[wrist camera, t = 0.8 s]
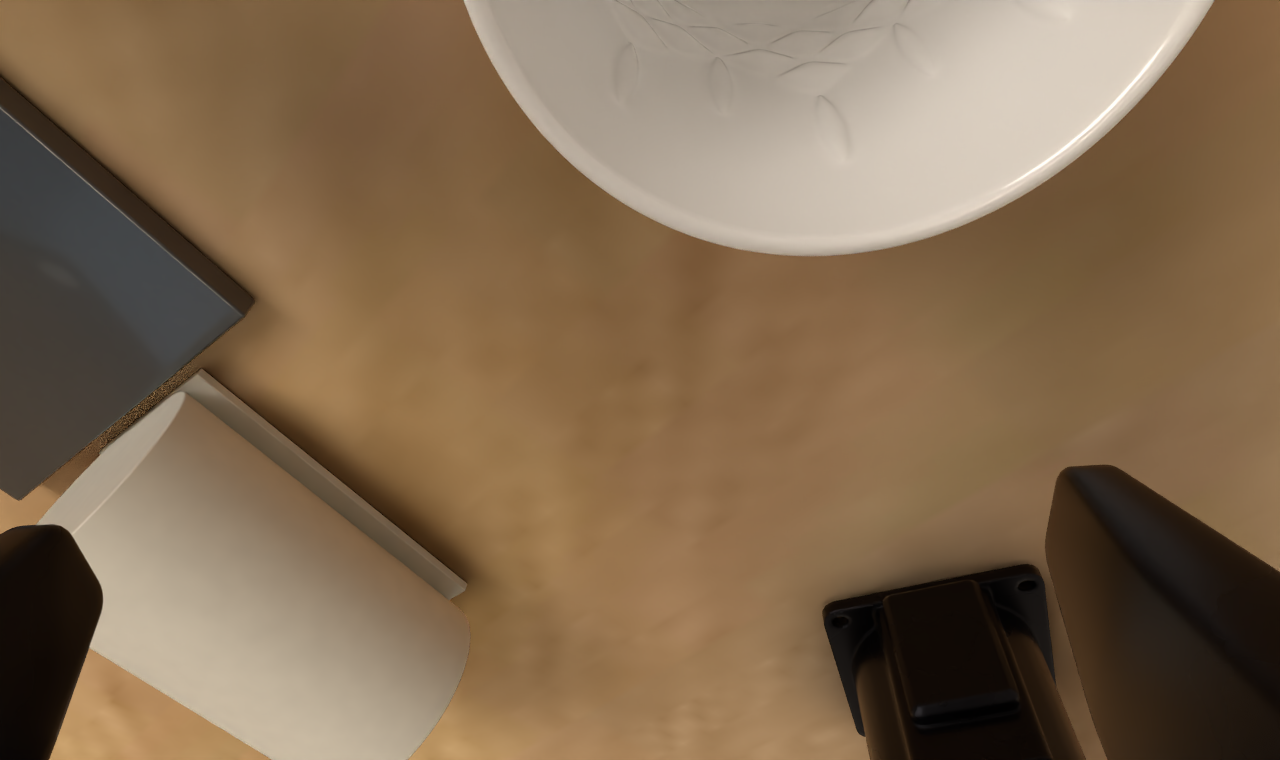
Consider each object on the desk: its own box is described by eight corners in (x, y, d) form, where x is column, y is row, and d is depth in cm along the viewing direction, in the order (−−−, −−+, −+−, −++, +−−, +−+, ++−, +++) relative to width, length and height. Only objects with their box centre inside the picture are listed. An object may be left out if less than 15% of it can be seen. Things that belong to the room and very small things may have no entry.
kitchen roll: (486, 572, 28) (448, 752, 23) (352, 649, 31) (291, 828, 26) (220, 352, 24) (103, 514, 19) (86, 460, 26) (-51, 631, 21)
